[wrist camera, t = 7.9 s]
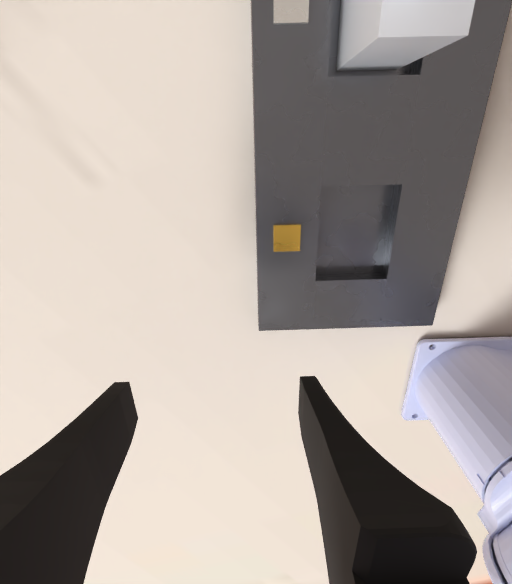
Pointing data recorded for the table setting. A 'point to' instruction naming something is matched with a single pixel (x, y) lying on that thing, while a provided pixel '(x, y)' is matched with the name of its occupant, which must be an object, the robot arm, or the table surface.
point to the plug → (398, 31)
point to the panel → (360, 168)
